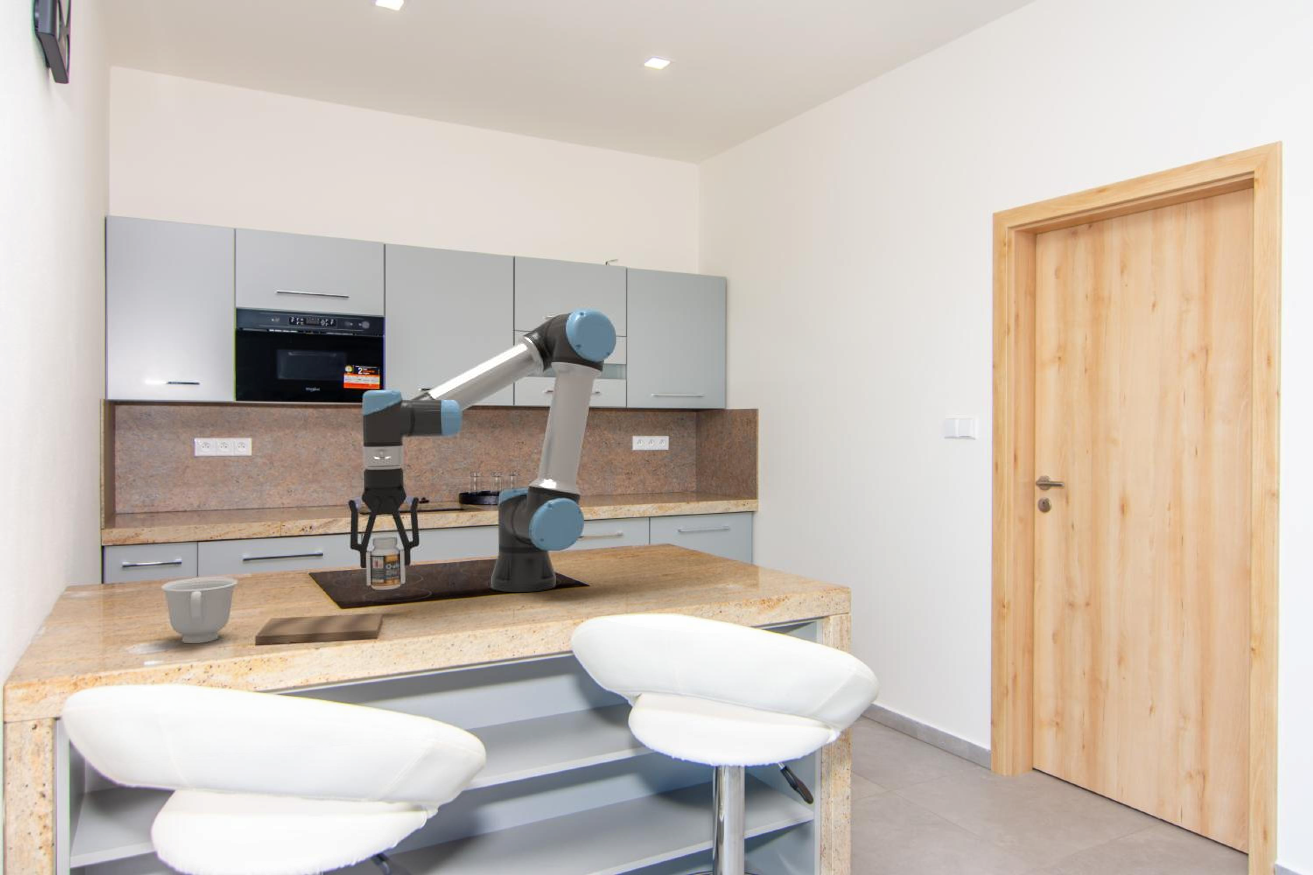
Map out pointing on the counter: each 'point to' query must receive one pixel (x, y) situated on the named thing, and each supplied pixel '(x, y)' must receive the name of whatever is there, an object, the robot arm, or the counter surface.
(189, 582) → the teacup
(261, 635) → the walnut board
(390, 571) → the pill bottle
